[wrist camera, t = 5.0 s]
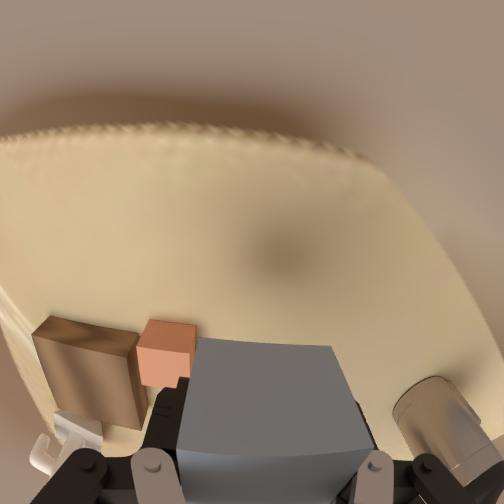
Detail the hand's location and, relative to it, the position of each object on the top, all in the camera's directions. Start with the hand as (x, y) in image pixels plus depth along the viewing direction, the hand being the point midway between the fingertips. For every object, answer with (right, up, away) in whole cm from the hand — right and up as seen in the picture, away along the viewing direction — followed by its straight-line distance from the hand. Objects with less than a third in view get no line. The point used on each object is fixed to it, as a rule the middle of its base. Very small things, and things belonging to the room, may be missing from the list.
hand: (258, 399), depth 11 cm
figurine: (-24, -18, +20) cm, 36 cm away
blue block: (0, 0, +1) cm, 1 cm away
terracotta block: (-8, -3, +16) cm, 18 cm away
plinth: (-17, -7, +17) cm, 25 cm away
